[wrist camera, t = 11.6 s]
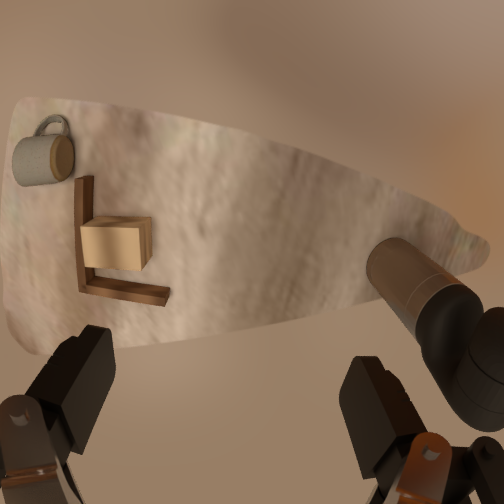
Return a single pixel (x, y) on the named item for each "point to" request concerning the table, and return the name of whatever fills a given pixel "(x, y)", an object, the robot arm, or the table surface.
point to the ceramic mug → (43, 156)
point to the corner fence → (86, 274)
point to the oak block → (117, 242)
